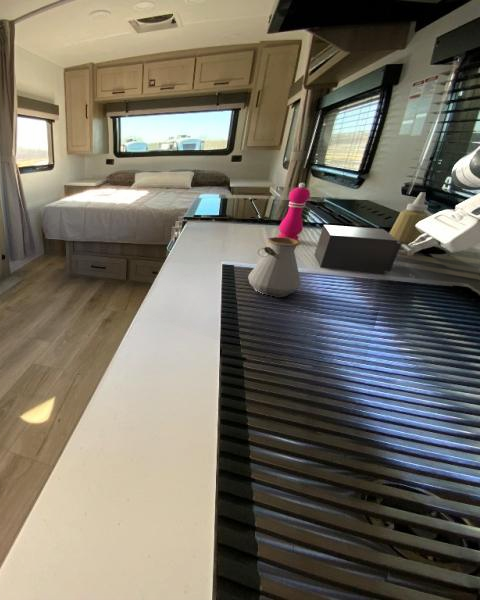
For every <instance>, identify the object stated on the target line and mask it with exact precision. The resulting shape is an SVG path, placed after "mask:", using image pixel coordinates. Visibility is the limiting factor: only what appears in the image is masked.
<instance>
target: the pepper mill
mask: <svg viewBox="0 0 480 600" xmlns="http://www.w3.org/2000/svg"><path fill="white" fill-rule="evenodd" d="M310 196H311V192H310V190H309V189H308V188H306V183H305V182H300V183H299V184H298V187H295V188H293V189H291V191H290V192H289V194H288V198H289V199H288V200H289V202H288V210H287V213H286V215H285V217H284V218H283V219H282V220H281V222H280V224H279V227H278V231H279V232H280V233H279V234H278V236H277V237H284V238H291V239H295V240H297V241H299V238H300V236H299V234H301V233H302V232H303V228H304V227H303V226H304V225H303V224H304V223H303V219H302V218H303V217H302V214H303V210H304V208H305V207H306V204H307V203H306V202H307V201H308V200H309V199H310Z"/></svg>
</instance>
